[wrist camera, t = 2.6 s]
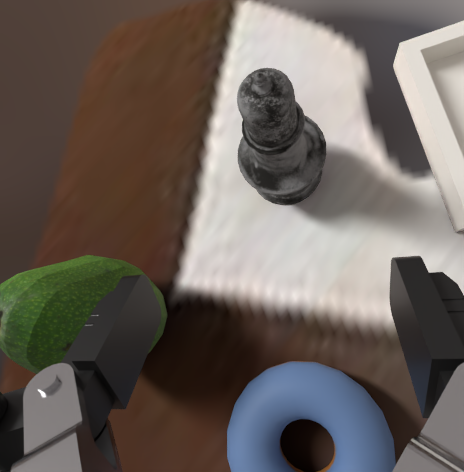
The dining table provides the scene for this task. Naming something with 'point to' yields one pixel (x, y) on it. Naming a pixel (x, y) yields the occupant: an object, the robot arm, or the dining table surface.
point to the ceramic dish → (438, 107)
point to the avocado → (58, 307)
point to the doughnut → (313, 408)
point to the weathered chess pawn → (278, 139)
